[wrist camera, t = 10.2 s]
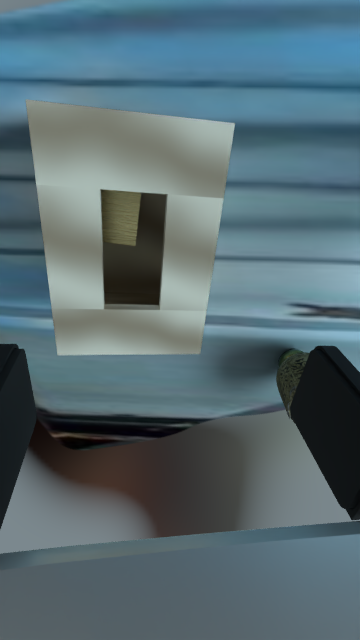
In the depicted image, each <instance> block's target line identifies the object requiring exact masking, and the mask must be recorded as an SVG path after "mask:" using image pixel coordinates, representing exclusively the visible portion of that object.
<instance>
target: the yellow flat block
mask: <svg viewBox="0 0 360 640" xmlns="http://www.w3.org/2000/svg"><path fill="white" fill-rule="evenodd" d="M140 199H141V192H130V191H117V190H103V189H101V211H102V242H107V243H114V244H122V245H130V246H135V245H136V236H137V227H138V218H139V208H140Z"/></svg>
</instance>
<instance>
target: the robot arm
mask: <svg viewBox="0 0 360 640" xmlns="http://www.w3.org/2000/svg"><path fill="white" fill-rule="evenodd" d="M290 413H291V416H292V418H293V420H294V422H295V424H296V426H297V427H298V429H299V431H300V433H301V435H302V437H303V439H304V440H305V442H306V444H307V446H308V448H309V449H310V451H311V453H312V455H313V457H314V459H315V460H316V462H317V464H318V466H319V468H320V470H321V472H322V474H323V475H324V477H325V479H326V481H327V483H328V485H329V486H330V488H331V490H332V492H333V494H334V496H335V497H336V499H337V501H338V503H339V504H340V506H341V507H342V508H344V509H346V511H347V512H348V514H349V516H350V518H351V520H359V519H360V372H359V371H358V370H357V369H356V368H355V367H354V366H353V365H352V364H351V362H350V361H349V360H348V359H347V358H346V357H345V356H344V355H343V354H342V353H341V352H340V350H339V349H338V348H337V347H335V346H317V347H316V348H315V349H314V350H312V351H311V352H310V354H309V356H308V359H307V362H306V364H305V367H304V370H303V372H302V375H301V378H300V381H299V383H298V386H297V389H296V391H295V394H294V397H293V400H292V402H291V405H290ZM35 423H36V407H35V402H34V397H33V391H32V386H31V381H30V375H29V370H28V364H27V359H26V354H25V350H24V349H19V347H18V345H16V344H0V529H1V526H2V523H3V520H4V517H5V514H6V511H7V508H8V505H9V502H10V499H11V495H12V493H13V490H14V487H15V483H16V480H17V478H18V474H19V472H20V469H21V465H22V462H23V459H24V456H25V453H26V450H27V447H28V444H29V441H30V438H31V435H32V432H33V429H34V426H35ZM0 640H360V521H353V522H341V523H328V524H316V525H303V526H291V527H279V528H267V529H256V530H244V531H232V532H220V533H209V534H197V535H186V536H176V537H175V536H174V537H163V538H152V539H141V540H131V541H120V542H109V543H98V544H88V545H76V546H67V547H57V548H48V549H39V550H31V551H21V552H13V553H3V554H0Z"/></svg>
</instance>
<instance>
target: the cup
mask: <svg viewBox="0 0 360 640" xmlns="http://www.w3.org/2000/svg"><path fill="white" fill-rule="evenodd" d="M309 354H310V353H304V352H302V351H300V350H297V349H292V350H288V351H286V352H285V353H283V354H282V355H281V357H280V358H279V362H278V365H279V369H278V371H277V376H276V381H277V387H278V390H279V393H280V396H281V398H282V401H283V403H284V406H285V408H286V411H287V414H288V416H289V418H291V419H292V420H293V418H292V416H291V413H290V405H291V402H292V400H293V397H294V394H295V391H296V389H297V386H298V383H299V381H300V378H301V375H302V372H303V370H304V367H305V364H306V362H307V359H308V356H309ZM293 422H294V420H293ZM294 423H295V422H294Z"/></svg>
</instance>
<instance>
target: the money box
mask: <svg viewBox="0 0 360 640" xmlns="http://www.w3.org/2000/svg"><path fill="white" fill-rule="evenodd" d="M26 107H27V115H28V123H29V131H30V139H31V147H32V155H33V163H34V171H35V179H36V187H37V195H38V203H39V211H40V219H41V227H42V235H43V243H44V251H45V259H46V267H47V275H48V283H49V291H50V299H51V307H52V315H53V323H54V331H55V339H56V347H57V355H143V354H200V351H201V344H202V338H203V331H204V325H205V318H206V311H207V305H208V298H209V292H210V285H211V278H212V272H213V265H214V259H215V252H216V245H217V239H218V232H219V226H220V219H221V212H222V206H223V199H224V193H225V186H226V179H227V173H228V166H229V160H230V153H231V146H232V140H233V133H234V127H235V123H228V122H219V121H211V120H202V119H193V118H184V117H175V116H167V115H158V114H149V113H140V112H131V111H123V110H114V109H105V108H96V107H87V106H79V105H70V104H61V103H52V102H43V101H35V100H26ZM101 189H103V190H117V191H130V192H141V199H140V208H139V218H138V227H137V236H136V245H135V246H130V245H122V244H114V243H107V242H102V211H101Z"/></svg>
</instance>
